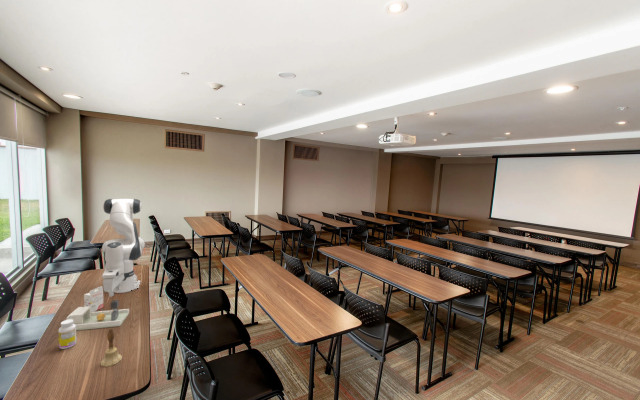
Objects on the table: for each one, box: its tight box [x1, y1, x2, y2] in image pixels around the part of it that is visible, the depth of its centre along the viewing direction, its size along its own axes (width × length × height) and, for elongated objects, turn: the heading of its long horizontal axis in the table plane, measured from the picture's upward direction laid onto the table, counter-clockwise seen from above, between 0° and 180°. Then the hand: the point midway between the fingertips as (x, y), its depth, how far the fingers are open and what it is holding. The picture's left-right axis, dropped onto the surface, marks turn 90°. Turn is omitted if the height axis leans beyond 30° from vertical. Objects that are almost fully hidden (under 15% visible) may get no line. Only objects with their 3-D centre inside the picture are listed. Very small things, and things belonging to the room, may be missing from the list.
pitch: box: [66, 306, 130, 331], centre depth 161 cm, size 15×26×8 cm, turn 108°
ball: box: [97, 313, 105, 321], centre depth 161 cm, size 4×4×4 cm
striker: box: [110, 299, 120, 321], centre depth 163 cm, size 5×3×11 cm, turn 18°
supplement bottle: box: [57, 319, 77, 350], centre depth 138 cm, size 7×7×13 cm
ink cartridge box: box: [83, 285, 105, 312], centre depth 174 cm, size 9×5×15 cm, turn 168°
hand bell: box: [100, 327, 123, 368], centre depth 129 cm, size 8×8×16 cm
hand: (114, 292), depth 162 cm, fingers open, 8 cm apart
